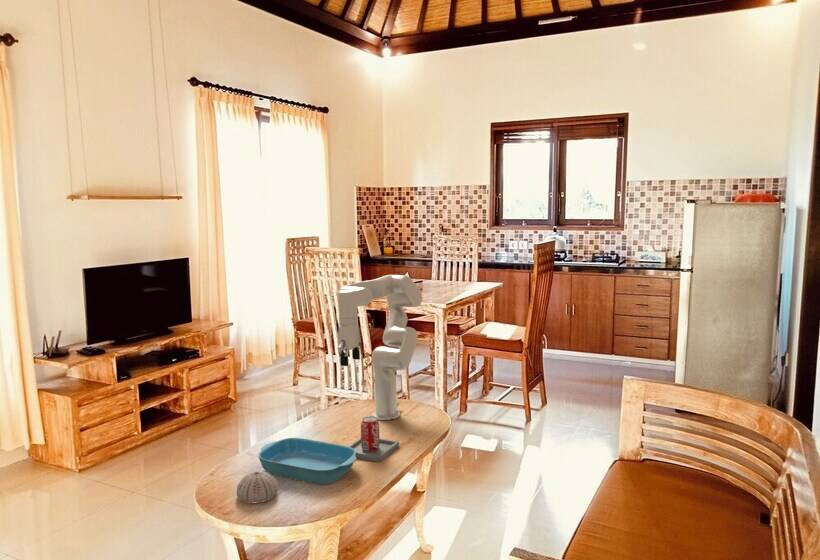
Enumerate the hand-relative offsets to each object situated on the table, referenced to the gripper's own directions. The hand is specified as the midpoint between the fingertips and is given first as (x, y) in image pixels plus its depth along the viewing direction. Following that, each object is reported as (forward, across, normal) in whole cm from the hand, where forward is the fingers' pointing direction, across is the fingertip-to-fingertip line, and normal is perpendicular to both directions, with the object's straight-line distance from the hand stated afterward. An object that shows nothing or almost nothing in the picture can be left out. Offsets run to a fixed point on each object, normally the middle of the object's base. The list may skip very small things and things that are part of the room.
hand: (350, 362), depth 240 cm
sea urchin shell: (+30, +58, -4) cm, 65 cm away
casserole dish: (+30, +35, +1) cm, 46 cm away
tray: (+31, +12, +14) cm, 36 cm away
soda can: (+30, +12, +14) cm, 35 cm away
